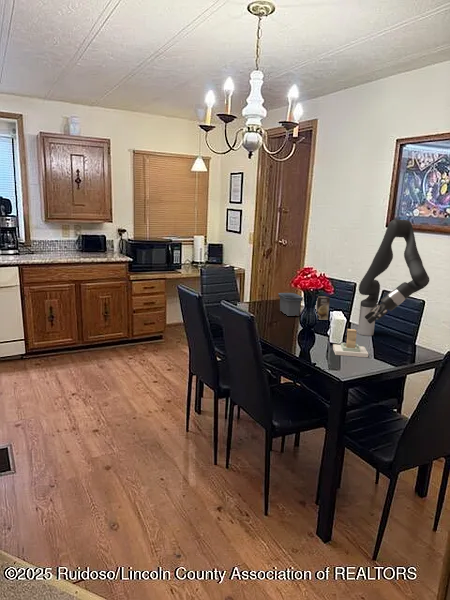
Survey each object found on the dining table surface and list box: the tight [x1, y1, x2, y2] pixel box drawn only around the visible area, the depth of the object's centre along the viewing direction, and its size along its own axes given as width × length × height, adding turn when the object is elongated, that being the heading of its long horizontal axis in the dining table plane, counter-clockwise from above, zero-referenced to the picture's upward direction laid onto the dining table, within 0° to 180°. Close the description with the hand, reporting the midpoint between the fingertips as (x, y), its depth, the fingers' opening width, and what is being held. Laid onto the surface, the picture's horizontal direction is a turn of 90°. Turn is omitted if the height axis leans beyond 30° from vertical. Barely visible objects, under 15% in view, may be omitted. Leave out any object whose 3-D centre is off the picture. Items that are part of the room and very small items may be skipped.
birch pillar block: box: [346, 328, 358, 348], centre depth 217 cm, size 4×4×10 cm
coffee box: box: [315, 295, 331, 320], centre depth 287 cm, size 9×6×16 cm
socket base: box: [332, 342, 369, 358], centre depth 218 cm, size 12×16×4 cm
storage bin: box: [277, 292, 304, 317], centre depth 300 cm, size 21×16×14 cm
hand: (367, 320), depth 214 cm, fingers open, 8 cm apart
